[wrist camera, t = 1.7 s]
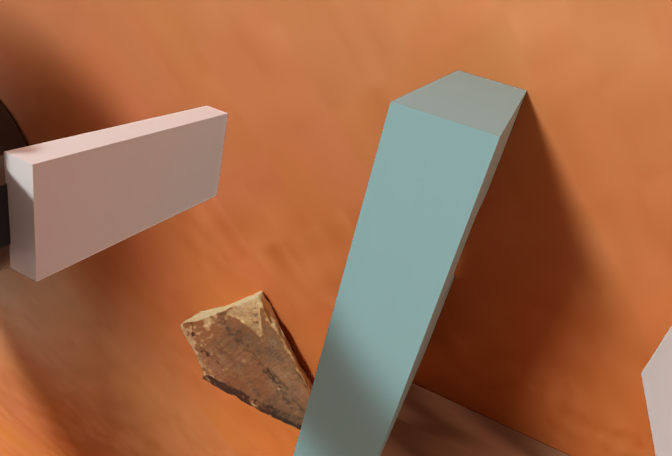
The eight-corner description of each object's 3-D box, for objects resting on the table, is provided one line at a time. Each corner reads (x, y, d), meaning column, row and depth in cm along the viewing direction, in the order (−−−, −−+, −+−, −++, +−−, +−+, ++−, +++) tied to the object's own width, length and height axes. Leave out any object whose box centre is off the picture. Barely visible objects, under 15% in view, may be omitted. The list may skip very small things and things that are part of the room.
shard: (350, 434, 33) (339, 454, 32) (259, 447, 37) (245, 466, 35) (271, 284, 31) (256, 298, 30) (184, 314, 35) (166, 328, 34)
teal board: (426, 348, 28) (364, 493, 20) (375, 325, 29) (293, 455, 20) (526, 90, 22) (500, 137, 13) (457, 70, 23) (390, 101, 14)
